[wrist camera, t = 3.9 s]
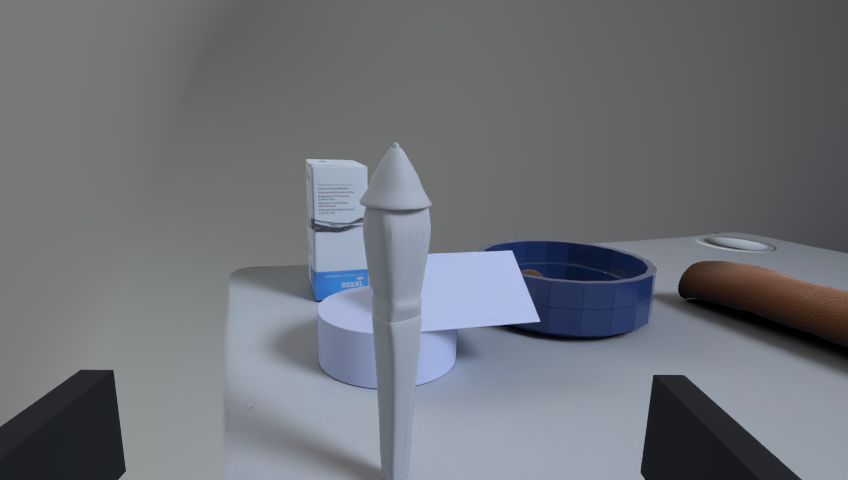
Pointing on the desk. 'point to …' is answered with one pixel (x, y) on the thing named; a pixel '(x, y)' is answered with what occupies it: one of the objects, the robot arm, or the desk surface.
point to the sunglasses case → (770, 297)
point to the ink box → (335, 226)
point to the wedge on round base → (426, 315)
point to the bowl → (583, 287)
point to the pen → (396, 297)
